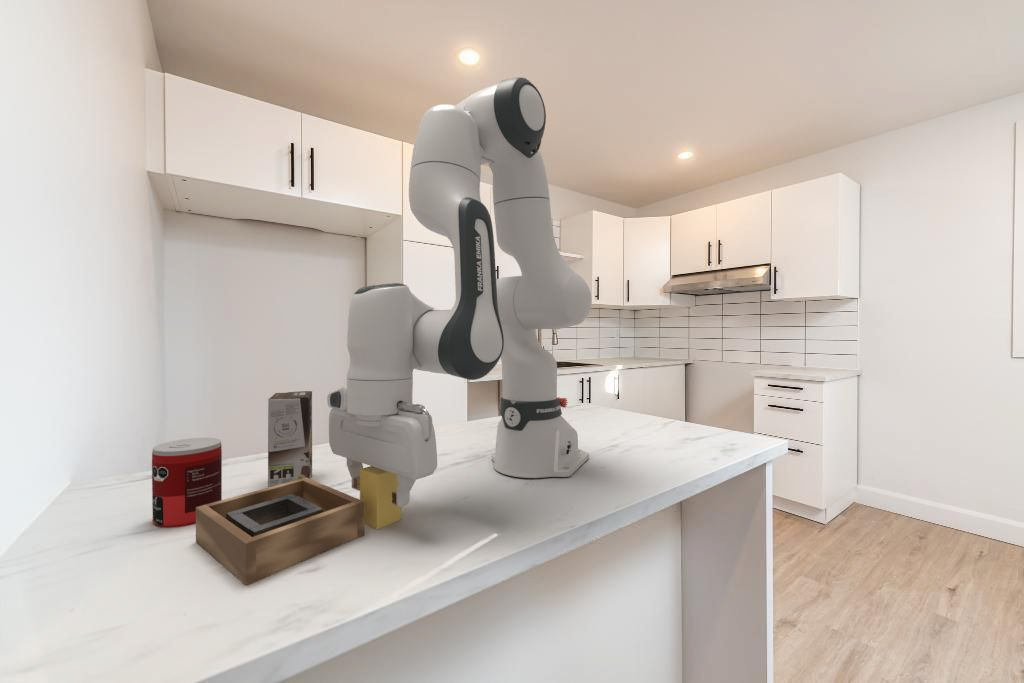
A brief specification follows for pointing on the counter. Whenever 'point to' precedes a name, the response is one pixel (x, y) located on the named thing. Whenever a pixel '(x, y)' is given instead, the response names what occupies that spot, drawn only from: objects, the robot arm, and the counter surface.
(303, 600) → the counter surface
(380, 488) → the plug
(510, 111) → the robot arm
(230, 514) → the socket
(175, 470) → the canned food
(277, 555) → the walled box
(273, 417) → the coffee box
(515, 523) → the counter surface
